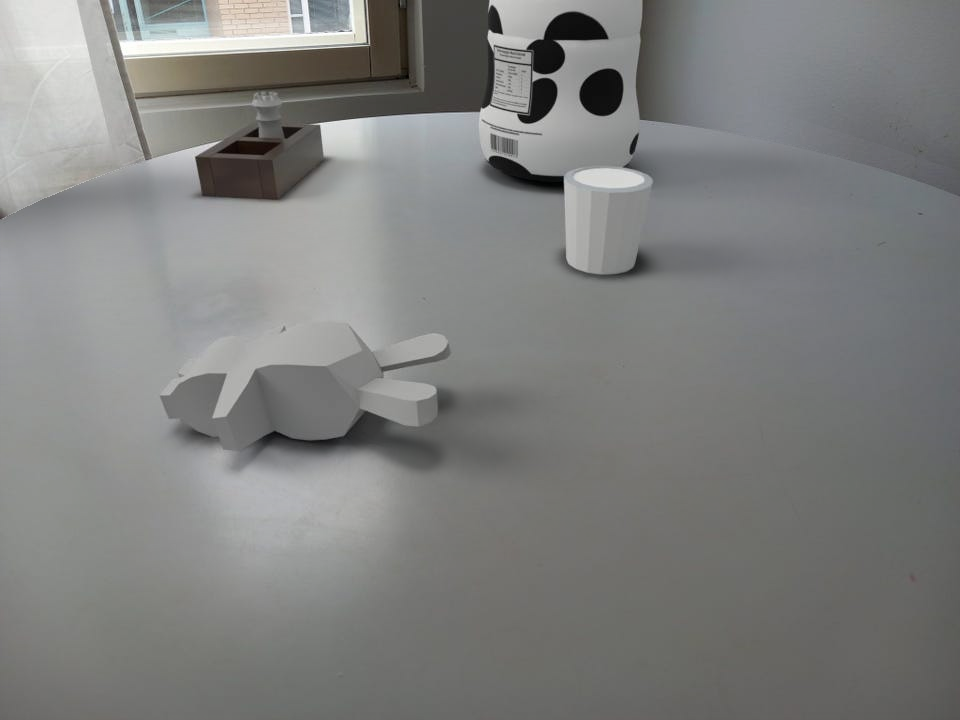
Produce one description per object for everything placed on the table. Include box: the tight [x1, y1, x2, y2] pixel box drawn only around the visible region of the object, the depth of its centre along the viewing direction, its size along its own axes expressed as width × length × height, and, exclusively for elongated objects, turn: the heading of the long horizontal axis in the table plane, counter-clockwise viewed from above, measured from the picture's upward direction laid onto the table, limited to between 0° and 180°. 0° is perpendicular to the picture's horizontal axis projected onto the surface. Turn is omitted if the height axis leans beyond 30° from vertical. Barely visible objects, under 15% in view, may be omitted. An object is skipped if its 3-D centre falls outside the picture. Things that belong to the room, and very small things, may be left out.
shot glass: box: [563, 166, 654, 275], centre depth 59 cm, size 7×7×7 cm
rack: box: [194, 121, 325, 200], centre depth 80 cm, size 8×14×4 cm, turn 172°
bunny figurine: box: [159, 320, 452, 452], centre depth 41 cm, size 10×5×15 cm
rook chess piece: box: [251, 91, 285, 139], centre depth 81 cm, size 4×4×8 cm
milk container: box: [478, 0, 643, 183], centre depth 78 cm, size 17×17×18 cm
